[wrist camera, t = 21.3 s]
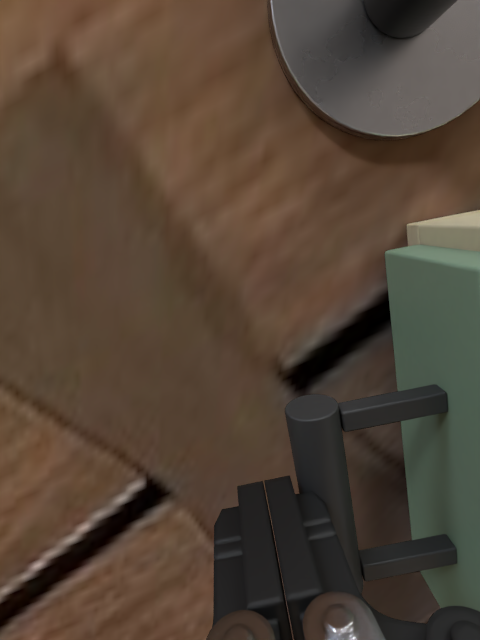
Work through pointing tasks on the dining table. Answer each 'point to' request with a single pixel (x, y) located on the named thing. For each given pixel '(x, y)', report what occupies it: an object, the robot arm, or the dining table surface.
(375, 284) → the dining table surface
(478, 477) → the drawer
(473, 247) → the cabinet
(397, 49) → the paper towel holder
